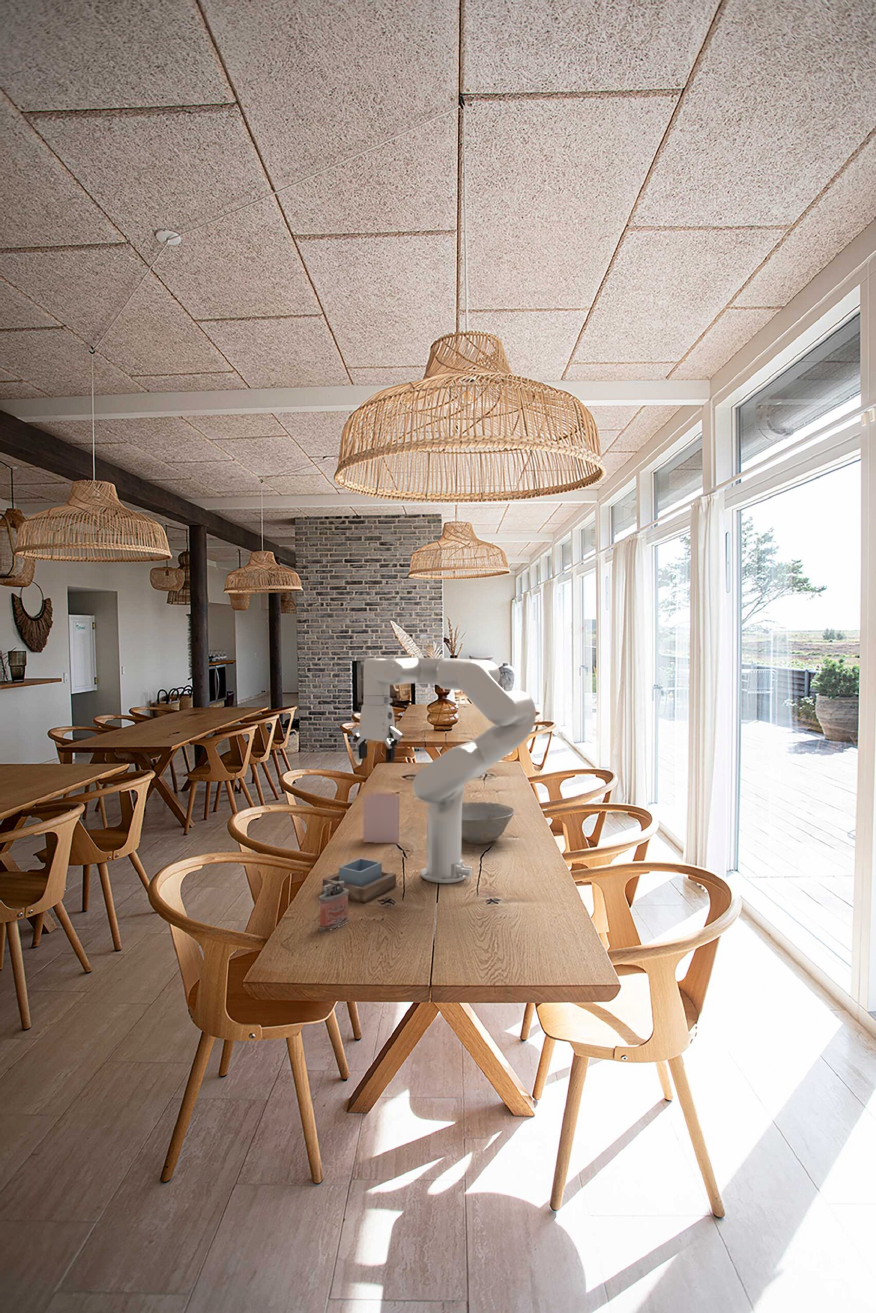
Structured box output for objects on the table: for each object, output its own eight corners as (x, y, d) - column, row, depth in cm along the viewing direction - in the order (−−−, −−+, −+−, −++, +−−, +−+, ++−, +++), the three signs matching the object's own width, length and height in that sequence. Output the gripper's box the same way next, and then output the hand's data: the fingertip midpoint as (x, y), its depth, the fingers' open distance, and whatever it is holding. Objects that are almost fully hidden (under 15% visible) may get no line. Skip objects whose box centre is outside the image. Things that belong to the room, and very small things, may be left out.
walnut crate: (396, 886, 189) (396, 873, 189) (364, 903, 178) (364, 889, 178) (355, 877, 196) (355, 864, 196) (322, 892, 185) (322, 879, 185)
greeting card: (400, 841, 229) (401, 795, 229) (386, 847, 223) (386, 800, 223) (373, 836, 236) (373, 790, 235) (358, 841, 230) (358, 795, 229)
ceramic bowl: (435, 846, 225) (435, 815, 224) (457, 827, 246) (457, 799, 246) (504, 854, 218) (504, 822, 217) (520, 834, 239) (520, 804, 239)
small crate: (381, 885, 189) (381, 862, 189) (360, 895, 181) (360, 872, 181) (360, 879, 193) (360, 857, 192) (339, 890, 185) (339, 867, 185)
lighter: (341, 918, 169) (341, 876, 168) (351, 921, 167) (352, 879, 166) (315, 928, 162) (315, 885, 162) (325, 933, 160) (325, 888, 160)
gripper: (408, 701, 205) (408, 761, 205) (360, 698, 214) (360, 755, 215) (393, 703, 198) (393, 765, 199) (344, 700, 208) (344, 758, 208)
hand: (376, 760), depth 207 cm, fingers open, 9 cm apart
